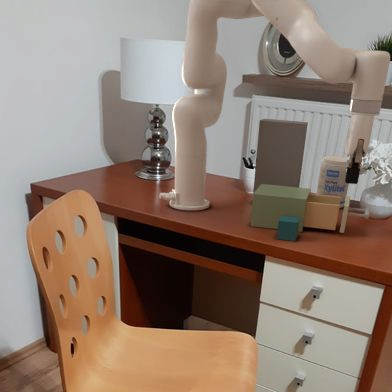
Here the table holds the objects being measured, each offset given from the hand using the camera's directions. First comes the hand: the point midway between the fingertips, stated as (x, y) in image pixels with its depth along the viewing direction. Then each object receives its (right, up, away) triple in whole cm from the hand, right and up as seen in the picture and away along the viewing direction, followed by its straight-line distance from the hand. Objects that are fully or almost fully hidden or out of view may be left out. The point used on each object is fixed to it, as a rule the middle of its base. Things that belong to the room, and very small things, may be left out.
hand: (351, 182), depth 139 cm
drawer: (-3, -9, +9) cm, 13 cm away
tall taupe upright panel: (-16, +2, +30) cm, 34 cm away
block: (-17, -14, +2) cm, 22 cm away
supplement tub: (+2, +3, +32) cm, 32 cm away
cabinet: (-17, -8, +13) cm, 23 cm away
